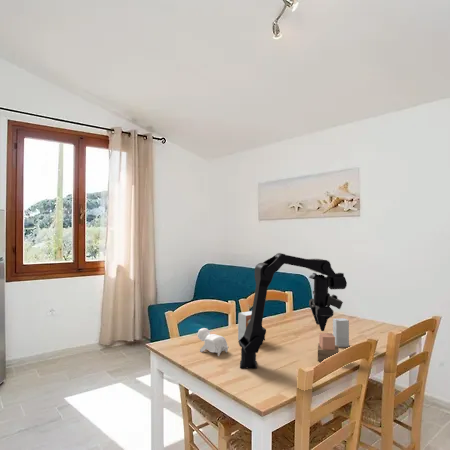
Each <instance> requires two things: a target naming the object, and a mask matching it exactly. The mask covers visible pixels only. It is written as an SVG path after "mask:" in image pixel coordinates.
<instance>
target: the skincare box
mask: <svg viewBox="0 0 450 450" xmlns="http://www.w3.org/2000/svg"><path fill="white" fill-rule="evenodd" d="M349 323H350V320H349V319H347V318H344V317H343V318H342V317H341V318H332V334H333V336H334V337H335V345H338V348H345V347H346V348H349V347H350V343H349V342H350V324H349Z"/></svg>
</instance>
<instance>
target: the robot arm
mask: <svg viewBox="0 0 450 450" xmlns="http://www.w3.org/2000/svg"><path fill="white" fill-rule="evenodd" d="M284 265H290V266H295V267H299V268H300V267H301V268H305V269H308V270H310V271H313V273H312V274H310V275H309V277H308V278H309V279H312V280H313V290H312V295H313V298H311V299H309V301H308V303H309V308H310V310H311V313H312V315H313V318H314V321H315V323H316V325H317V326H319V328H320V331H321V332H324V331H325V328H326V325H327V322H328V320H329V319H330V318H332V317H333V316H334V310H333V308H332V307H334V308H336V309H338V310H341V308H342V305H343V303H344V302H343V301H342V300H341V299H339V298H338V296H337V295H335V294H330V292H329V289H330V290H345V289H346V288H347V285H348V283H347V279H346V277H345V276H344V275H345V273H344V272H335V271H334V269H333V268H332V264H331V262H330V260H327V259H323V258H303V257H297V256H293V255H287V254H285V253H281V252H278V253H276V254H274V255H273V256H272V257H270V258H268V259H266V260H264V261H263V262H260V263H258V264H256V265H255V267H254V280H255V290H254V296H253V303H252V309H251V311H252V314H251V320H250V322H249V324H248V325H247V327H246V330H245V333H244V336H243V337H242V338H241V339H240V340H237V341H238V342H237V343H238V345H239V347H240V348H241V349H240V356H241V357H240V358H241V359H240V361H239V362H240V363H239V368H240V369H255V370H256V369H258V362H257V354H258V353H259V351H260V348H261V346H262V345H263V343H264V341H266V335H267V334H266V333H267V329H266V328H264V327H263V318H264V312H265V308H266V307H265V305H266V300H267V292H268V289H269V286H270V285H271V283H272V281H273V278H274V275H275V273H277V272H278V271H279V270H280V269H281V268H282V266H284ZM317 273H318V274H317ZM331 306H332V307H331Z"/></svg>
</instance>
